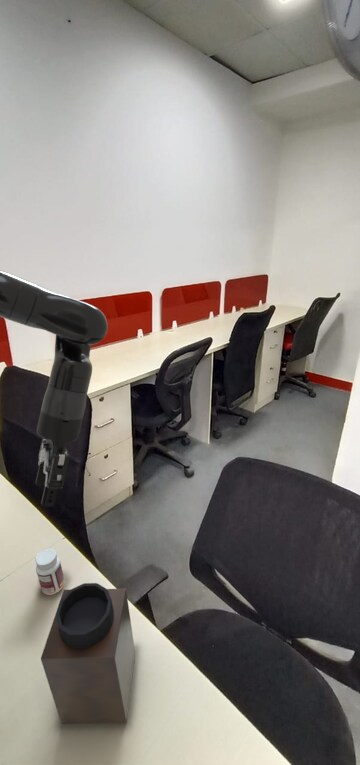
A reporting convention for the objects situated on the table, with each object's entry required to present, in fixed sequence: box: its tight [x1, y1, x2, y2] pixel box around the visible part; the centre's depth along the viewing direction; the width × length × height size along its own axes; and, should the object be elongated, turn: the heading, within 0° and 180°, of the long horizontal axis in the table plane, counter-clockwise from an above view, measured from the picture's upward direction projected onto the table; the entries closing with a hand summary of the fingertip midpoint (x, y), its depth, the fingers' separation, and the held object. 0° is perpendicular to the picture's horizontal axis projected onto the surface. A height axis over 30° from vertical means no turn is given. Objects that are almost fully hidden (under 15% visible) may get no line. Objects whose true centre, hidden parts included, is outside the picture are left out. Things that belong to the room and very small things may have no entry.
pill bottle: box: [35, 548, 66, 596], centre depth 74 cm, size 5×5×8 cm
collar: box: [55, 582, 114, 649], centre depth 52 cm, size 8×8×3 cm
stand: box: [40, 588, 136, 724], centre depth 55 cm, size 10×10×16 cm
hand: (44, 494), depth 67 cm, fingers open, 8 cm apart
